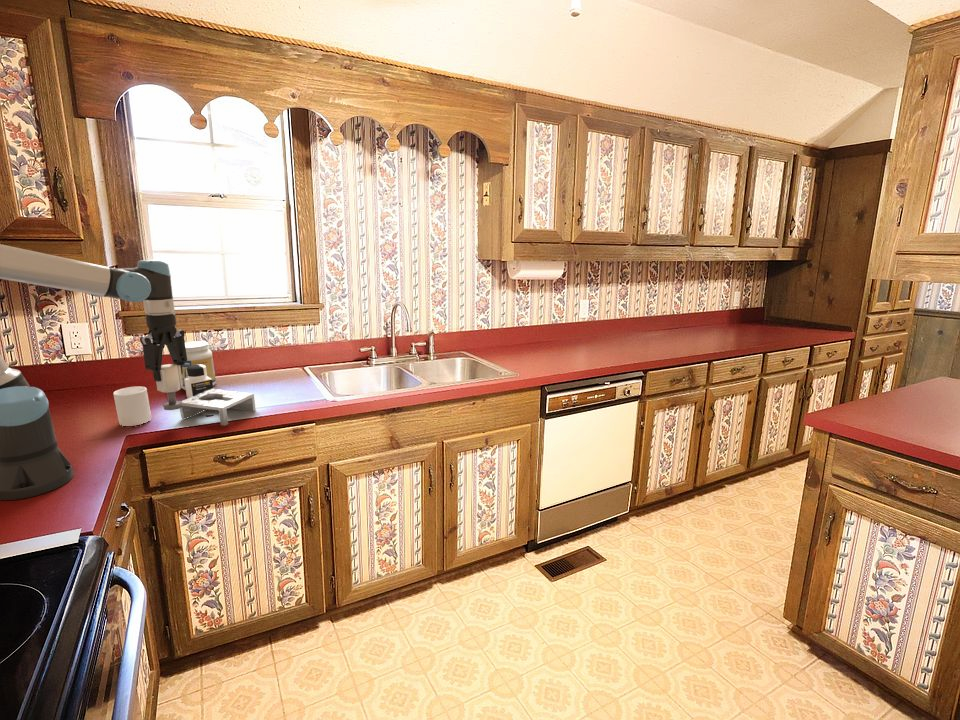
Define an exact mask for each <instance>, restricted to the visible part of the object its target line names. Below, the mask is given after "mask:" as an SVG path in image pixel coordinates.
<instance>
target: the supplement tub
mask: <svg viewBox="0 0 960 720" xmlns="http://www.w3.org/2000/svg"><path fill="white" fill-rule="evenodd" d="M209 345H210V344H209V342H207V341H188V342H185V347H186V354H187V361H184V362H185V364H184V365H182V371H183V374H181V375H182V382H183V386H180V389H183V391H186V388H185V382H184V379H185V378H188V374H187V368H188V367H189V366H191V365H196V364H202V365H205V366H206V371H207V376H208V377H209V378H211V379H212V382H213V387H214V386H216V383H217V380H216V378H217V377H216V373H215V365H214V364H215V363H214V359H213V352H212V350H211V349H210V346H209Z"/></svg>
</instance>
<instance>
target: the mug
mask: <svg viewBox="0 0 960 720" xmlns="http://www.w3.org/2000/svg"><path fill="white" fill-rule="evenodd" d="M112 394H113V398H114V403H115V404H114V405H115V409H116V414H117V419H118V423H119V425H120V426H121V425H122V426H121V427H123V426H133V425H139V424H143V423H146V422H148V421H150V422H151V420H152V412H151V408H150V407H151V406H150V400H149V394H148V389H147V387H145V386H127V387H124V388H120V389H117V390H115V391H113V393H112ZM148 423H149V422H148ZM146 424H147V423H146Z"/></svg>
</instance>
